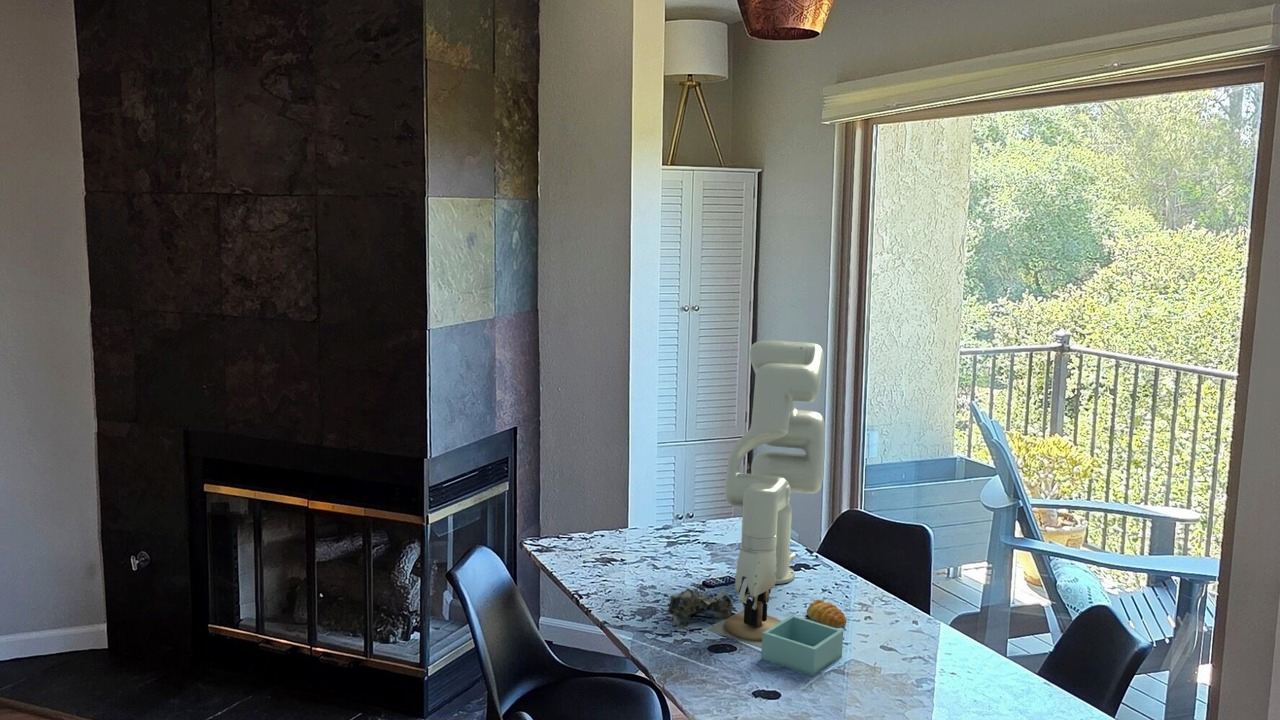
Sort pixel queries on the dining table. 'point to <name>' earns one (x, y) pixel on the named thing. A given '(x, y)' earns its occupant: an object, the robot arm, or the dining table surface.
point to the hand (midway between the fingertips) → (755, 621)
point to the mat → (721, 630)
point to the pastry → (826, 614)
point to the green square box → (802, 645)
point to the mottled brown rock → (698, 605)
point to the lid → (749, 632)
